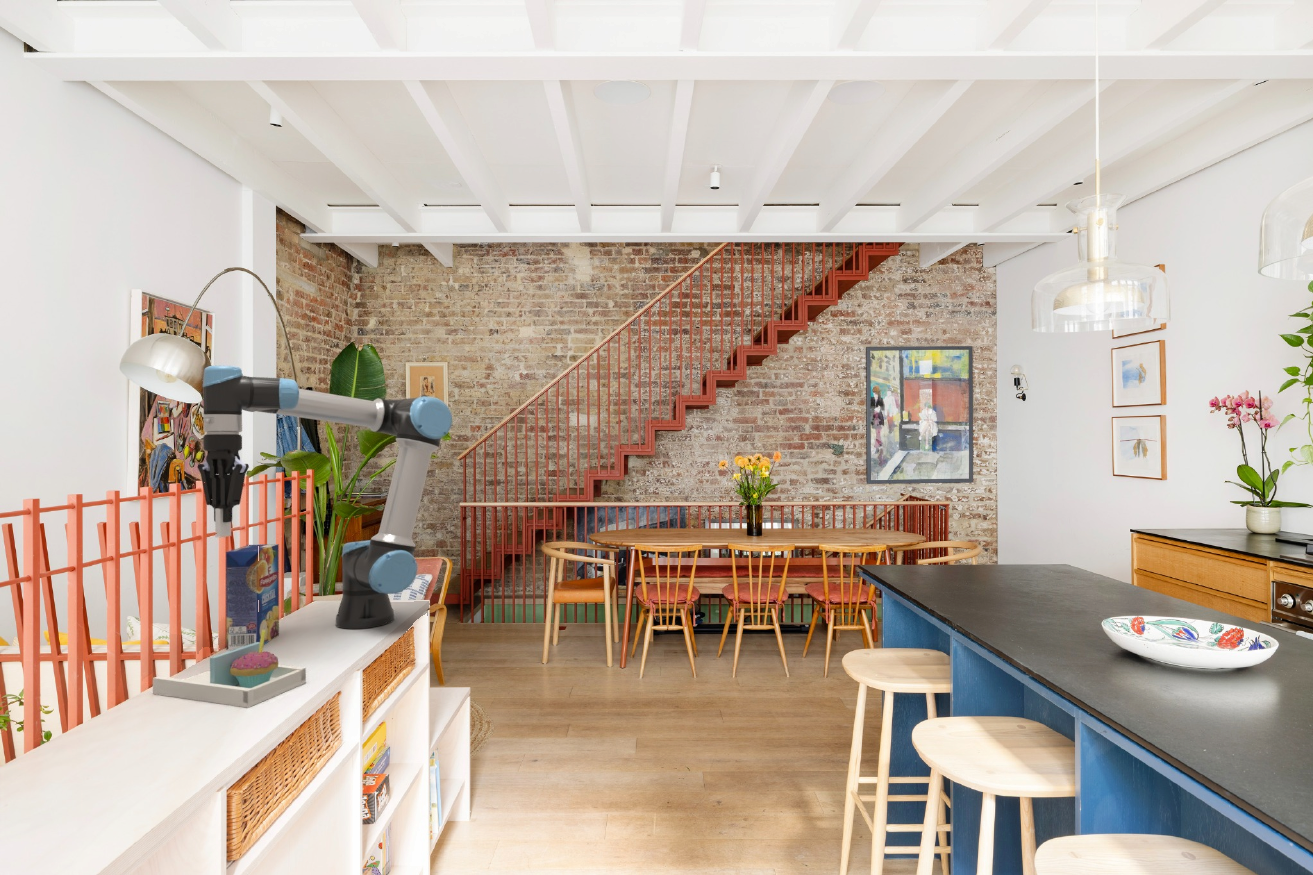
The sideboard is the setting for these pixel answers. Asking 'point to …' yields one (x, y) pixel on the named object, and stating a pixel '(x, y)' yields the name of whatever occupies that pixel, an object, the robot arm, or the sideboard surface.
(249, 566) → the juice carton
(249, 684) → the cupcake
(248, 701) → the white shallow tray
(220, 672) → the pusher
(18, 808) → the sideboard surface
